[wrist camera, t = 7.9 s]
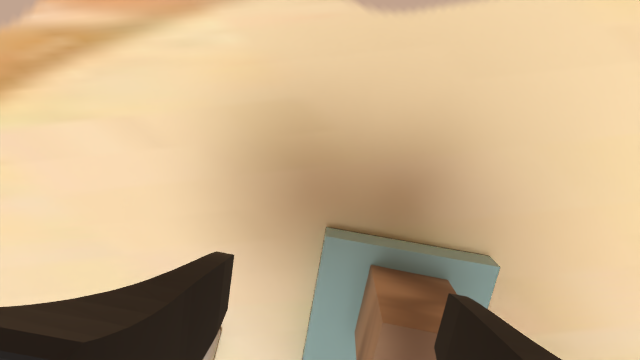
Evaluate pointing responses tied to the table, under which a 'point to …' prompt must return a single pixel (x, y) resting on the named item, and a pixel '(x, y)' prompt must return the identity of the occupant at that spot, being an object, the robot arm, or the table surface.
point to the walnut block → (400, 315)
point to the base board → (351, 276)
